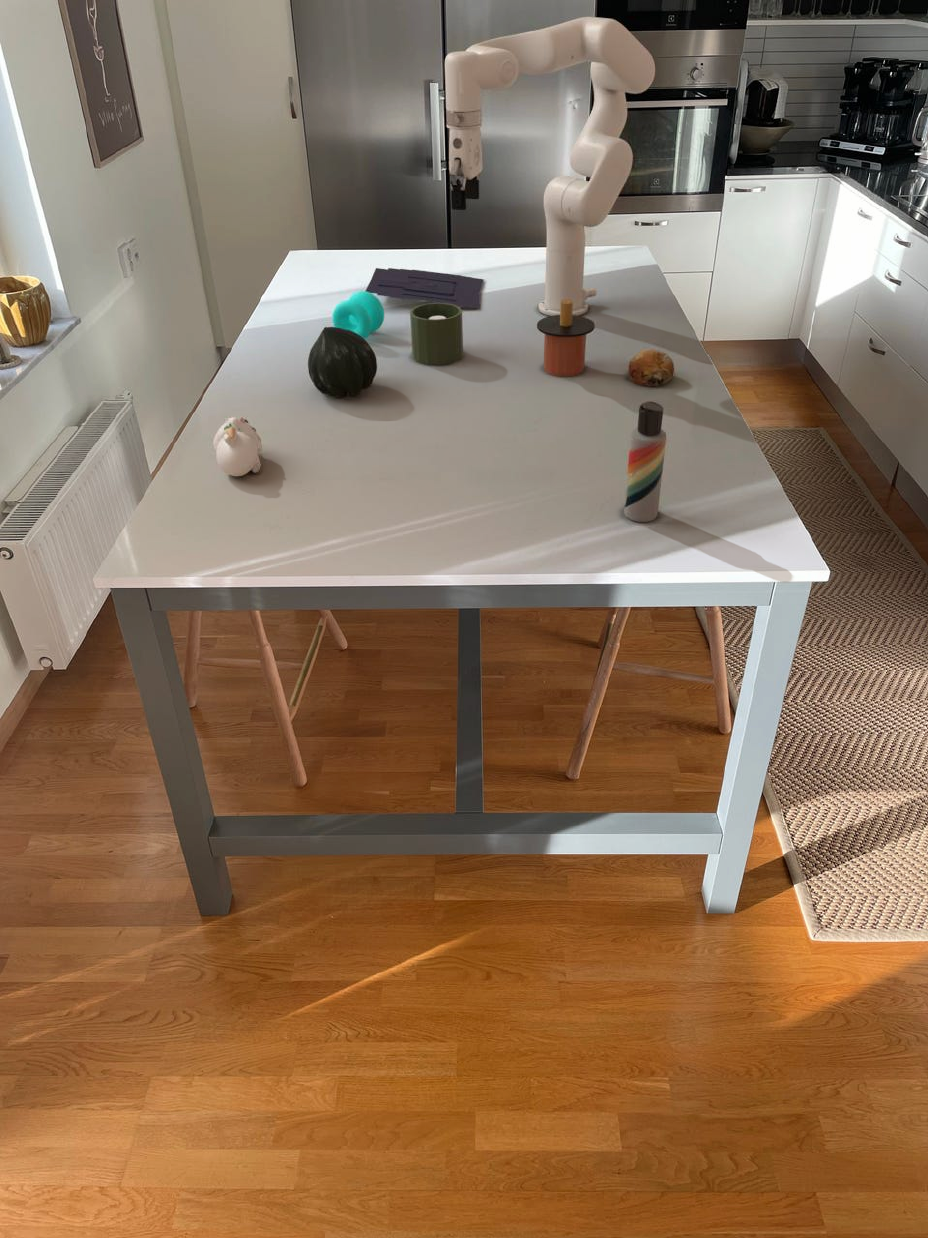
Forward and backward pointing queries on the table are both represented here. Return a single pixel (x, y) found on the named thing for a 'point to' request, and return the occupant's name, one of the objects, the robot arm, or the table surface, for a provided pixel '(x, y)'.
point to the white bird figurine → (237, 447)
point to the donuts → (359, 314)
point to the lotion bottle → (645, 464)
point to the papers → (426, 286)
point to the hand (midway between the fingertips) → (465, 203)
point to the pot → (436, 334)
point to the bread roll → (651, 368)
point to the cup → (564, 355)
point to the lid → (565, 323)
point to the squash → (341, 363)
